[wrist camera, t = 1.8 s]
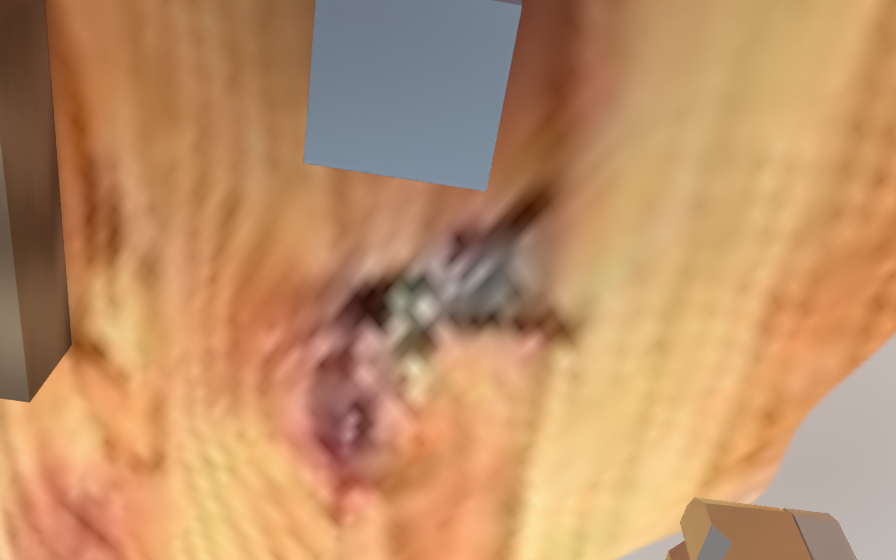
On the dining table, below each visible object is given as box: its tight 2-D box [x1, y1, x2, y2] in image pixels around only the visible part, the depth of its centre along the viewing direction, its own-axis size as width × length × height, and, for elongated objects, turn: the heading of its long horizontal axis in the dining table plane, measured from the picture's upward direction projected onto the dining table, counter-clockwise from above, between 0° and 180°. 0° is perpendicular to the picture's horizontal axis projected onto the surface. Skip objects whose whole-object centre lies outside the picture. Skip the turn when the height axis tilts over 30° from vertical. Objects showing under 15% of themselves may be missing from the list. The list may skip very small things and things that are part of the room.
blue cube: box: [304, 0, 522, 191], centre depth 24 cm, size 5×5×5 cm
